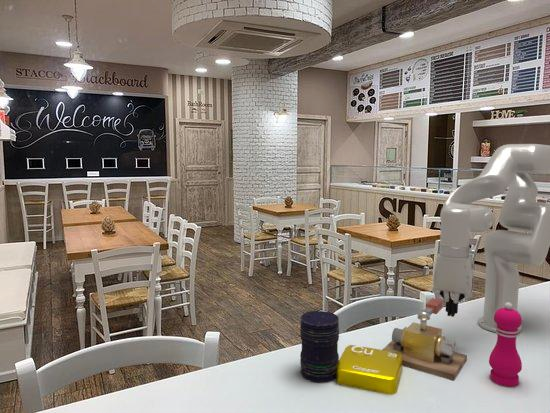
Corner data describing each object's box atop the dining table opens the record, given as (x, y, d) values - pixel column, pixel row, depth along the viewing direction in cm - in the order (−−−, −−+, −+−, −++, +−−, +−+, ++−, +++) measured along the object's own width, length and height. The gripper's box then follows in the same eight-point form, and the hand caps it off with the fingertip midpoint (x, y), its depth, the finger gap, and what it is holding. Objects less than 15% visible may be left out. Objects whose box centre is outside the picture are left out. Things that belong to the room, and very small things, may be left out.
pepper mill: (525, 389, 103) (530, 308, 100) (492, 386, 104) (497, 306, 102) (515, 374, 110) (519, 298, 108) (484, 371, 111) (488, 296, 109)
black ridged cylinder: (342, 367, 114) (342, 313, 112) (334, 386, 105) (335, 327, 103) (305, 361, 118) (305, 309, 116) (295, 379, 108) (295, 322, 106)
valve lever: (427, 323, 115) (427, 314, 114) (415, 320, 117) (416, 312, 116) (442, 308, 126) (443, 300, 126) (431, 305, 128) (432, 298, 127)
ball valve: (398, 342, 126) (399, 309, 124) (456, 357, 116) (458, 321, 115) (389, 351, 120) (390, 316, 119) (449, 367, 111) (450, 330, 109)
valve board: (395, 341, 129) (395, 337, 129) (466, 360, 117) (467, 355, 117) (378, 358, 119) (378, 353, 119) (454, 380, 107) (454, 374, 107)
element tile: (333, 385, 106) (333, 366, 106) (347, 358, 120) (347, 342, 120) (396, 397, 101) (396, 378, 100) (403, 368, 114) (403, 350, 114)
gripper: (485, 252, 119) (482, 315, 121) (429, 246, 127) (427, 306, 129) (481, 257, 113) (478, 324, 115) (423, 251, 121) (421, 314, 123)
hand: (451, 314), depth 122 cm, fingers closed
